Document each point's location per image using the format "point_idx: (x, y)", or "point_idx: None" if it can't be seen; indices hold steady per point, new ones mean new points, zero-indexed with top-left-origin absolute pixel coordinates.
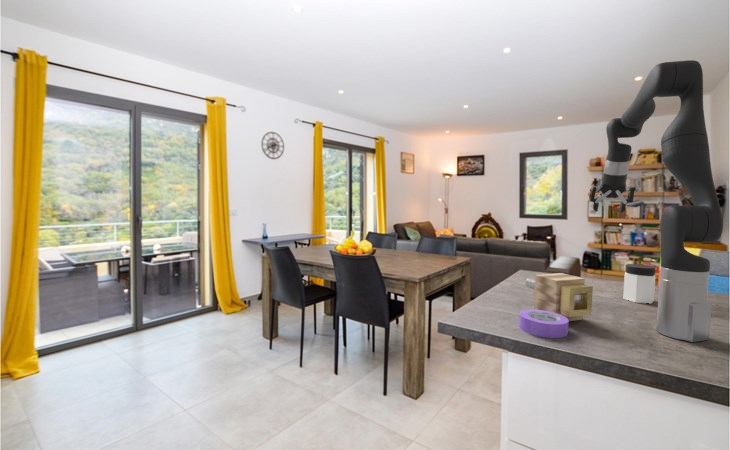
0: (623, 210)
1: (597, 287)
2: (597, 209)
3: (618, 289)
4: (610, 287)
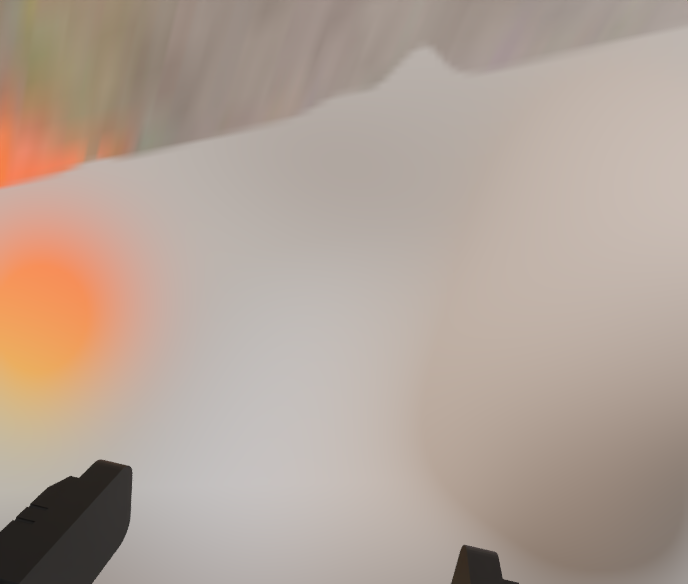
0: (70, 488)
1: (456, 62)
2: (473, 576)
3: (352, 36)
4: (377, 82)
